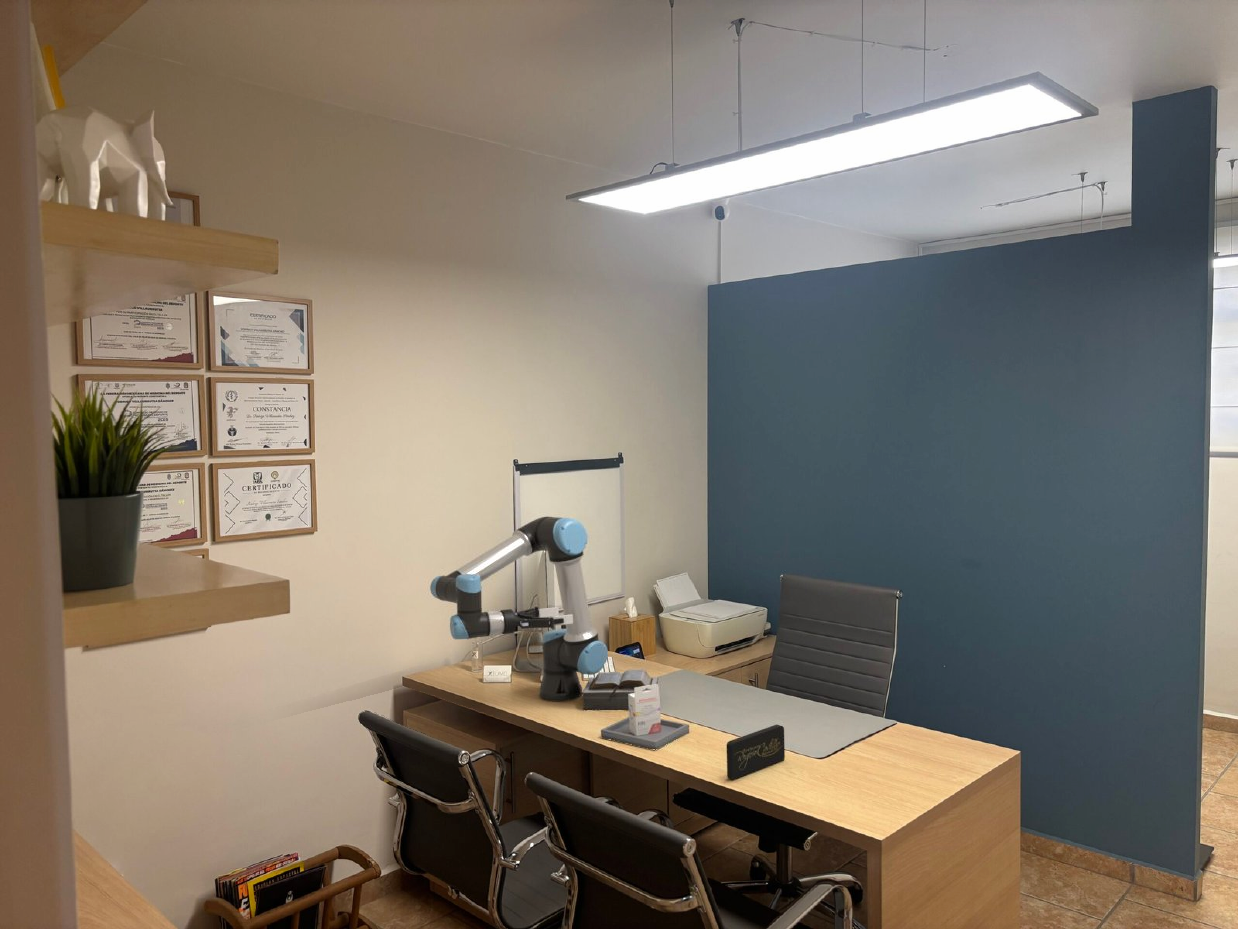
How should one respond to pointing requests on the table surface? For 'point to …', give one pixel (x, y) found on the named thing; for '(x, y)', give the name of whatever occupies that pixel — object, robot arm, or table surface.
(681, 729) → the desk tray
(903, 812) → the table surface
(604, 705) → the bible
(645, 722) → the ink cartridge box
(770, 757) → the nameplate
